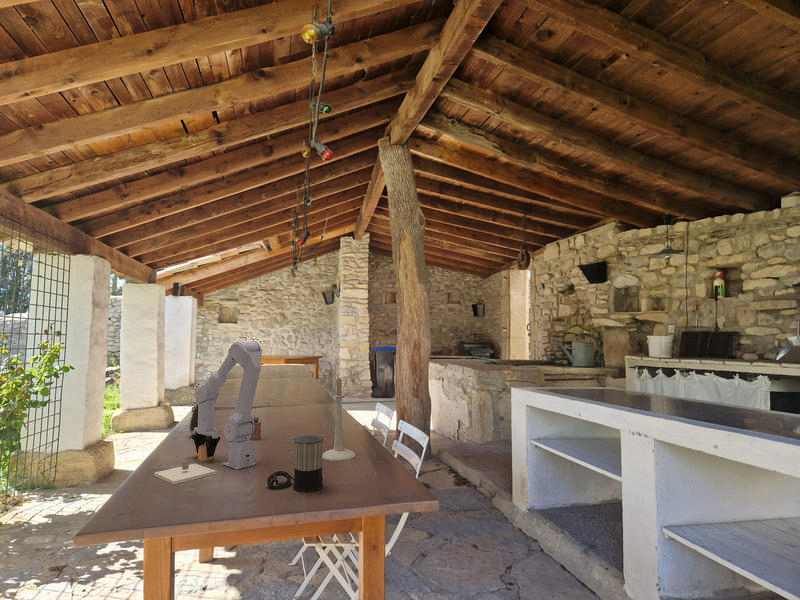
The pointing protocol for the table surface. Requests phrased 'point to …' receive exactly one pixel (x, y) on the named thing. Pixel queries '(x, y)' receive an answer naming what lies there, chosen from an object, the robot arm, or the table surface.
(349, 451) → the candlestick
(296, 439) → the milk frother
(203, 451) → the cap
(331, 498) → the table surface
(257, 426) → the lighter
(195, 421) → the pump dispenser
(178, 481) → the post board
